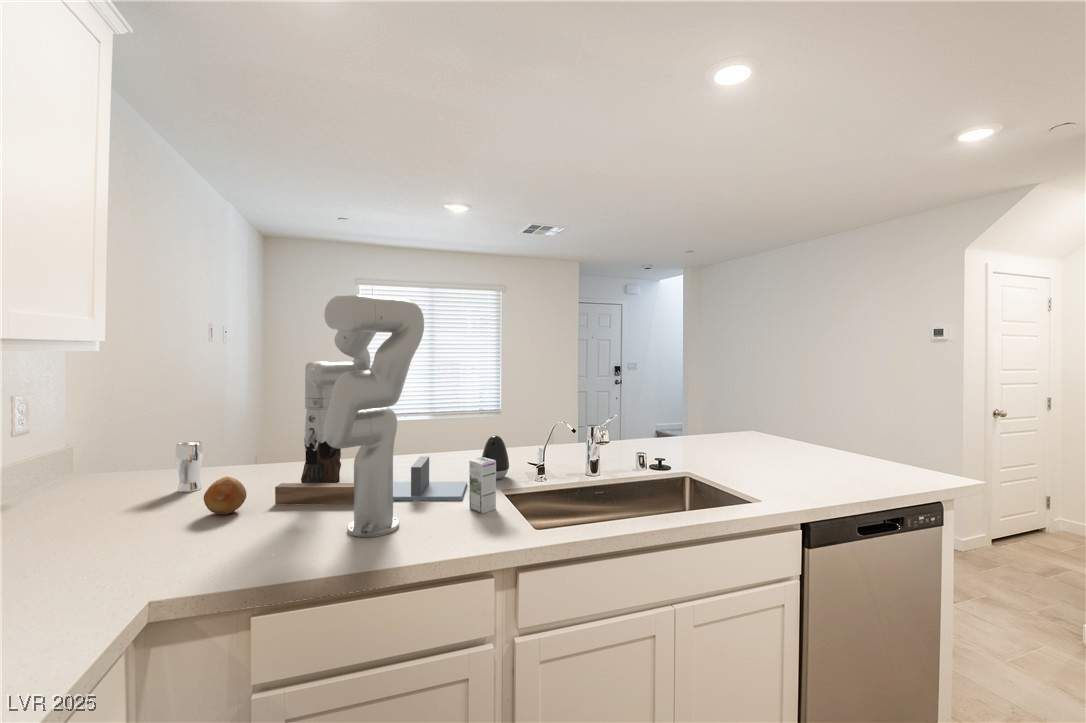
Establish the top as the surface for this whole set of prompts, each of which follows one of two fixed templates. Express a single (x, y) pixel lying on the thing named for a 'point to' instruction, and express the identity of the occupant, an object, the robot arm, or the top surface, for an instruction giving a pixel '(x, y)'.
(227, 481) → the onion
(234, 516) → the top surface
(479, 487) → the syrup box
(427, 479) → the balance stand
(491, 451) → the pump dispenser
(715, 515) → the top surface
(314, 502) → the walnut bar
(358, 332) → the robot arm
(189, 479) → the beer glass
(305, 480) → the owl
